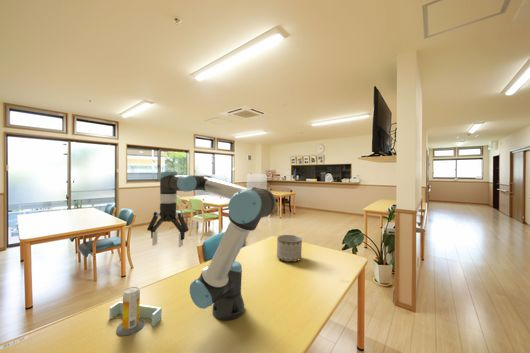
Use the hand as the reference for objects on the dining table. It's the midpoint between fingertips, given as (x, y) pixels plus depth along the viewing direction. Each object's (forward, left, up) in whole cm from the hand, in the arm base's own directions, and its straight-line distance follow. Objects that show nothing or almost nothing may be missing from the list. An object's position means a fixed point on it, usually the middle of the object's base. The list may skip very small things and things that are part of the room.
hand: (167, 245), depth 106 cm
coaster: (+5, +17, -30) cm, 34 cm away
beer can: (+5, +17, -29) cm, 34 cm away
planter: (-55, -76, -30) cm, 99 cm away
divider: (+7, +12, -30) cm, 33 cm away
